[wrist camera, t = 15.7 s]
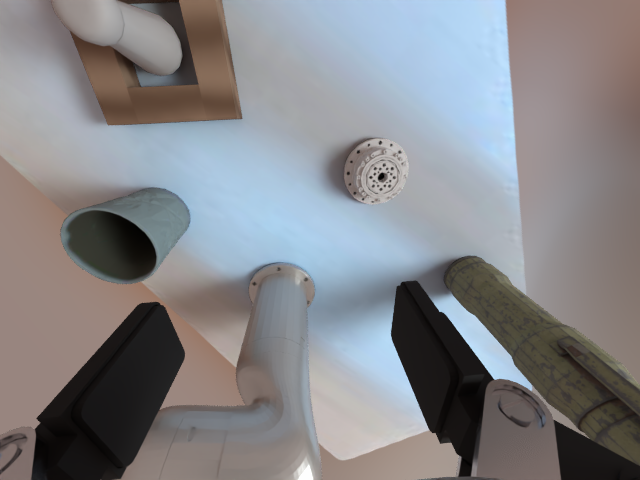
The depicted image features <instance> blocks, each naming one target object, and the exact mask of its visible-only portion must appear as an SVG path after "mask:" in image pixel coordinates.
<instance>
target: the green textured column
mask: <svg viewBox="0 0 640 480" xmlns="http://www.w3.org/2000/svg"><path fill="white" fill-rule="evenodd" d="M444 283H445V285H446V286H447V288H448V289H450V290H451V292H452V294H453V296H454V297H455V298H456V299H457V300H458V301H459V303H460V304H461V305H462V306H463V307H464V308H465V309H466V310H467V311H468V312H470V313H472V314H473V315H475V316H476V317H477V318H478V319H479V320H480V322H481V323H482V324H483V325H484V326H485V327H486V328H487V329H488V330H489V332H490V333H491V334H492V335H493V336H494V337H495V338H496V339H497V341H498V342H499V343H500V344H501V345H502V346H503V347H504V348H505V349H506V351H507V352H508V353H509V354H510V355H511V356H512V359H513V361H514V364H515V366H516V367H517V368H518V369H519V370H520V372H521V373H522V374H523V375H524V376H525V377H526V378H527V380H528V381H529V382H530V383H531V384H532V385H533V386H534V387H535V389H536V390H537V391H538V392H539V393H540V394H541V396H542V397H543V398H544V399H545V400H546V401H547V402H548V403H549V404H550V405H551V406H553V407H554V408H555V409H557V410H558V411H559V412H561V413H562V414H564V415H565V416H566V417H568V418H569V419H570V420H571V421H572V422H573V423H574V425H575V426H576V427H577V428H578V429H579V430H580V431H582V432H584V433H585V434H586V435H587V436H588V437H589V438H590V439H591V440H592V441H594V442H596V443H598V444H600V445H602V446H604V447H605V448H607V449H609V450H611V451H613V452H615V453H617V454H619V455H620V456H622V457H624V458H626V459H628V460H630V461H632V462H634V463H635V464H637V465H639V466H640V385H639V384H638V383H637V381H635V379H634V378H633V376H632V375H631V374H630V373H629V372H628V370H627V369H626V368H625V367H624V366H623V365H622V364H621V363H620V362H619V361H617V360H616V359H615V358H613V357H612V356H610V355H609V354H608V353H606V352H605V351H604V350H603V349H601V348H600V347H599V346H597V345H596V344H595V343H593V342H592V341H591V340H590V339H588V338H587V337H586V336H584V335H583V334H582V333H580V332H579V331H577V330H576V329H575V328H572V327H570V326H567V325H564V324H562V323H561V322H560V321H558V320H557V319H556V318H554V317H553V316H552V315H551V314H549V313H548V312H547V311H545V310H544V309H543V308H542V307H540V306H539V305H538V304H536V303H535V302H534V301H532V300H531V299H530V298H529V297H527V296H526V295H525V294H523V293H522V292H521V291H520V290H518V289H517V288H516V287H514V286H513V285H512V284H511V282H510V280H509V279H508V277H507V276H506V275H504V274H503V273H502V272H500V271H499V270H498V269H496V268H495V267H494V266H492V265H491V264H488V263H486V262H485V261H484V260H483V259H482V258H480V257H477V256H467V257H463V258H460V259H459V260H457V261H455V262H454V263H453V264H451V265H450V266H449V268H448V269H447V271H446V273H445V276H444Z"/></svg>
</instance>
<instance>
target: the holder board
mask: <svg viewBox="0 0 640 480" xmlns="http://www.w3.org/2000/svg"><path fill="white" fill-rule="evenodd" d="M118 1H121V2H124V3H127V4H137V3H167V2H179V3H180V7H181V11H182V16H183V20H184V24H185V28H186V33H187V37H188V41H189V45H190V50H191V54H192V58H193V63H194V67H195V71H196V75H197V80H198V84H199V85H179V86H157V87H141V86H140V83H139V80H138V77H137V74H136V71H135V68H134V65H133V62H132V61H131V60H130V59H128V58H127V57H125V56H124V55H123V54H121V53H120V52H118V51H117V50H115V49H114V48H113V47H111V46H110V45H109V46H100V45H96V44H93V43H90V42H87V41H84V40H82V39H81V38H79V37H78V36H76V35H75V34H74V33H73V32H71V31H70V33H71V35H72V38H73V40H74V43H75V45H76V47H77V50H78V52H79V55H80V57H81V60H82V62H83V65H84V67H85V70H86V72H87V75H88V77H89V79H90V82H91V84H92V87H93V89H94V92H95V94H96V97H97V99H98V102H99V104H100V107H101V109H102V111H103V114H104V116H105V119H106V121H107V124H108V125H132V124H151V123H171V122H190V121H209V120H228V119H242V114H241V108H240V102H239V96H238V91H237V85H236V79H235V73H234V68H233V62H232V56H231V50H230V45H229V39H228V33H227V27H226V22H225V16H224V10H223V4H222V0H118Z"/></svg>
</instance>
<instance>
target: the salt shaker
mask: <svg viewBox="0 0 640 480" xmlns="http://www.w3.org/2000/svg"><path fill="white" fill-rule="evenodd" d="M51 3H52V6H53V9H54V12H55V13H56V15H57V16H58V17H59V19H60V20H61V22H62V23H63V24H64V26H65V27H66V28H68V29H69V30H70V31H71V32H73V33H74V34H75V35H76V36H78V37H79V38H81V39H82V40H84V41H87V42H90V43H93V44H96V45H100V46H109V45H110V46H111V47H113V48H114V49H115V50H117V51H118V52H120V53H121V54H123V55H124V56H125V57H127V58H128V59H130V60H131V61H133V62H134V63H135V64H137V65H138V66H140V67H141V68H143V69H144V70H145V71H147V72H148V73H152V74H155V75H159V76H164V75H170V74H173V73H174V72H175V71H176V70H177V69H178V68H179V67H180V64H181V60H182V58H183V54H182V49H181V43H180V40H179V38H178V36H177V34H176V33H175V31H174V29H173V28H172V26H171V25H169V24H168V23H167V22H166V21H165V20H164V19H163V18H162V17H161V16H159V15H157V14H154V13H151V12H148V11H146V10H143V9H140V8H137V7H135V6H132V5H129V4H127V3H124V2H121V1H118V0H51Z"/></svg>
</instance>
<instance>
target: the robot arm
mask: <svg viewBox="0 0 640 480" xmlns="http://www.w3.org/2000/svg"><path fill="white" fill-rule="evenodd" d="M278 267H279V268H278ZM314 294H315V289H314V283H313V280H312V279H311V277H310V275H309V274H308V273H307V272H306V271H304V270H303V269H302V268H300V267H298V266H296V265H292V264H288V263H275V264H270V265H268V266H265V267H263V268H262V269H260V270H259V271H258V272H256V273H255V275H254V276H253V277H252V279H251V282H250V285H249V297H250V300H251V302H252V303H253V306H252V310H251V314H250V317H249V321H248V325H247V329H246V332H245V336H244V340H243V343H242V347H241V351H240V355H239V359H238V362H237V367H236V381H237V386H238V389H239V393H240V395H241V397H242V399H243V401H244V403H245V406H210V405H209V406H208V405H179V406H170V407H166V408H163V409H161V410H159V409H160V407H161V405H162V403H163V401H164V399H165V397H166V395H167V393H168V391H169V389H170V387H171V385H172V383H173V381H174V379H175V377H176V375H177V373H178V371H179V369H180V367H181V365H182V363H183V361H184V357H185V352H184V349H183V347H182V344H181V342H180V340H179V338H178V336H177V333H176V331H175V329H174V327H173V324H172V322H171V320H170V318H169V315H168V313H167V311H166V309H165V307H164V306H163V305H160V303H158V302H150V303H141V304H139V305H138V306H137V307H136V308H135V309H134V310H133V311H132V312H131V313H130V315H129V316H128V317H127V318H126V319H125V320H124V321H123V322H122V324H121V325H120V326H119V327H118V328H117V329H116V330H115V331H114V332H113V334H112V335H111V336H110V337H109V338H108V339H107V340H106V341H105V342H104V344H103V345H102V346H101V347H100V348H99V349H98V350H97V351H96V353H95V354H94V355H93V356H92V357H91V358H90V359H89V360H88V361H87V363H86V364H85V365H84V366H83V367H82V368H81V369H80V370H79V371H78V373H77V374H76V375H75V376H74V377H73V378H72V380H70V382H69V383H68V384H67V385H66V386H65V387H64V388H63V389H62V390H61V392H60V393H59V394H58V395H57V396H56V397H55V398H54V399H53V401H52V402H51V403H50V404H49V405H48V406H47V407H46V408H45V409H44V411H43V412H42V413H41V414H40V415H39V416H38V417H37V419H38V421H39V422H40V424H39V425H38V426H37V428H36V429H33V428H31V427H20V428H16V429H13V430H11V431H8V432H7V433H4V434H2V435H0V480H322V471H321V470H322V468H321V458H320V450H319V444H318V439H317V434H316V428H315V423H314V417H313V411H312V404H311V395H310V382H309V355H308V320H307V308H308V307H309V306H310V304H311V303H312V301H313V298H314ZM391 337H392V341H393V343H394V346H395V348H396V351H397V353H398V356H399V358H400V360H401V363H402V365H403V368H404V370H405V372H406V375H407V377H408V380H409V382H410V385H411V387H412V389H413V392H414V394H415V397H416V399H417V401H418V404H419V406H420V409H421V411H422V413H423V416H424V418H425V421H426V423H427V426H428V428H429V430H430V431H431V432H432V433H436V435H437V437H438V440H439V442H440V444H441V443H452V445H453V447H454V449H455V451H456V453H457V454H458V455H459V460H458V466H457V472H456V477H442V478H431V479H421V480H640V466H639V465H637V464H635V463H634V462H632V461H630V460H628V459H626V458H624V457H622V456H620V455H619V454H617V453H615V452H613V451H611V450H609V449H607V448H605V447H604V446H602V445H600V444H598V443H596V442H594V441H592V440H591V439H589V438H587V437H585V436H583V435H581V434H579V433H577V432H576V431H574V430H572V429H570V428H568V427H566V426H564V425H563V424H560V423H559V422H557V421H555V420H553V417H552V414H551V413H550V411H549V409H548V408H547V406H546V405H545V404H544V403H543V401H541V399H540V398H539V397H538V396H537V395H535V394H534V393H533V392H531V391H530V390H529V389H527V388H526V387H524V386H522V385H520V384H518V383H516V382H513V381H510V380H505V379H497V380H494V379H493V377H492V376H491V375H490V373H489V372H488V371H487V369H486V368H485V367H484V365H483V364H482V363H481V361H480V360H479V359H478V357H477V356H476V355H475V353H474V352H473V351H472V349H471V348H470V347H469V345H468V344H467V343H466V341H465V340H464V339H463V337H462V336H461V335H460V333H459V332H458V331H457V329H456V328H455V326H454V325H453V324H452V322H451V321H450V320H449V318H448V317H447V316H446V315H445V314H444V313H442V312H439V310H438V309H437V308H436V306H435V305H434V303H433V302H432V301H431V299H430V298H429V297H428V295H427V294H426V292H425V291H424V290H423V288H422V287H421V286H420V284H419V283H418V282H417V281H406V282H402V283H401V285H400V286H397V289H396V297H395V305H394V313H393V321H392V329H391ZM419 480H420V479H419Z"/></svg>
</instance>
